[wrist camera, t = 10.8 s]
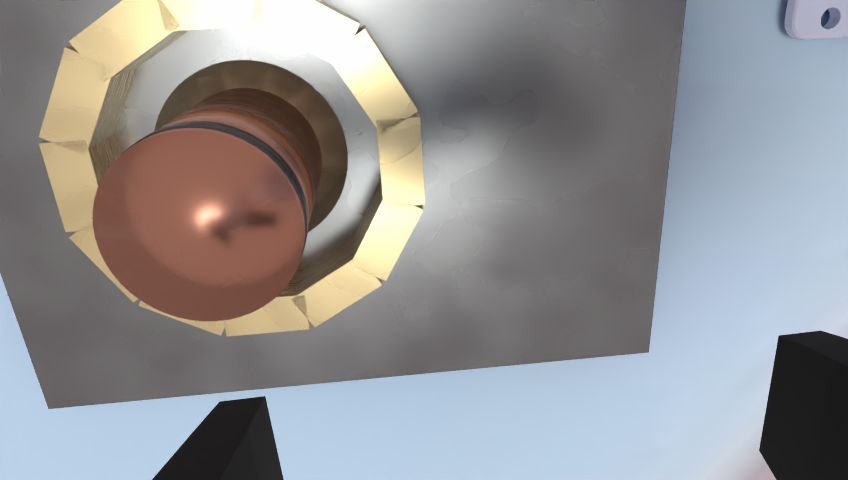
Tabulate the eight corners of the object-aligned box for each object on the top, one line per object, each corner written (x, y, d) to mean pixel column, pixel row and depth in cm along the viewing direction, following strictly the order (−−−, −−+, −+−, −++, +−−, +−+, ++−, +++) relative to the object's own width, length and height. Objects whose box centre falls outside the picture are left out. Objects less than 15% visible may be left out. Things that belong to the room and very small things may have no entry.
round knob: (346, 129, 15) (339, 189, 11) (287, 249, 16) (256, 350, 12) (207, 59, 14) (133, 90, 10) (153, 190, 15) (63, 274, 11)
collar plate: (688, -178, 14) (748, -210, 12) (638, 338, 19) (672, 383, 17) (-122, -146, 13) (-221, -173, 11) (61, 392, 18) (19, 446, 16)
